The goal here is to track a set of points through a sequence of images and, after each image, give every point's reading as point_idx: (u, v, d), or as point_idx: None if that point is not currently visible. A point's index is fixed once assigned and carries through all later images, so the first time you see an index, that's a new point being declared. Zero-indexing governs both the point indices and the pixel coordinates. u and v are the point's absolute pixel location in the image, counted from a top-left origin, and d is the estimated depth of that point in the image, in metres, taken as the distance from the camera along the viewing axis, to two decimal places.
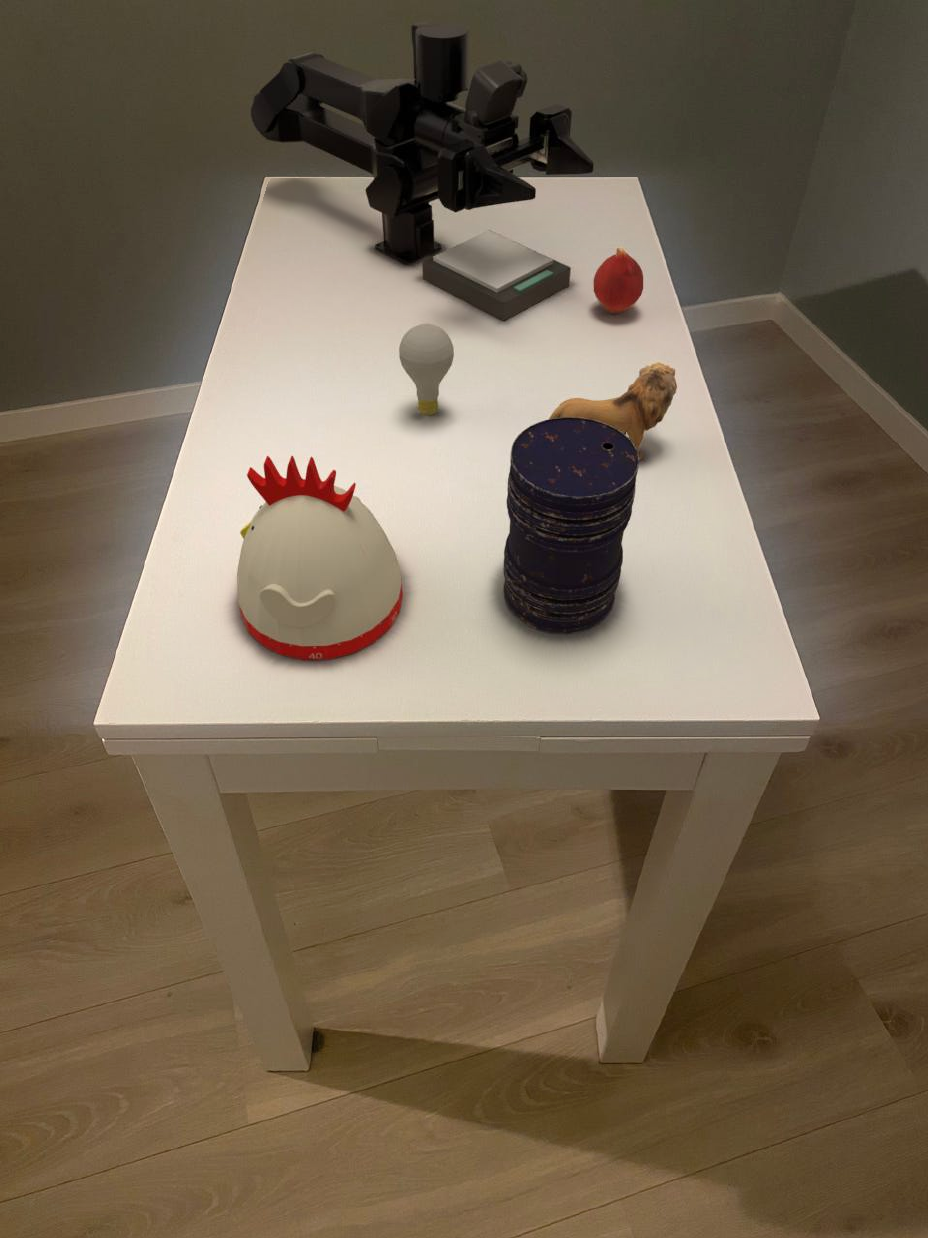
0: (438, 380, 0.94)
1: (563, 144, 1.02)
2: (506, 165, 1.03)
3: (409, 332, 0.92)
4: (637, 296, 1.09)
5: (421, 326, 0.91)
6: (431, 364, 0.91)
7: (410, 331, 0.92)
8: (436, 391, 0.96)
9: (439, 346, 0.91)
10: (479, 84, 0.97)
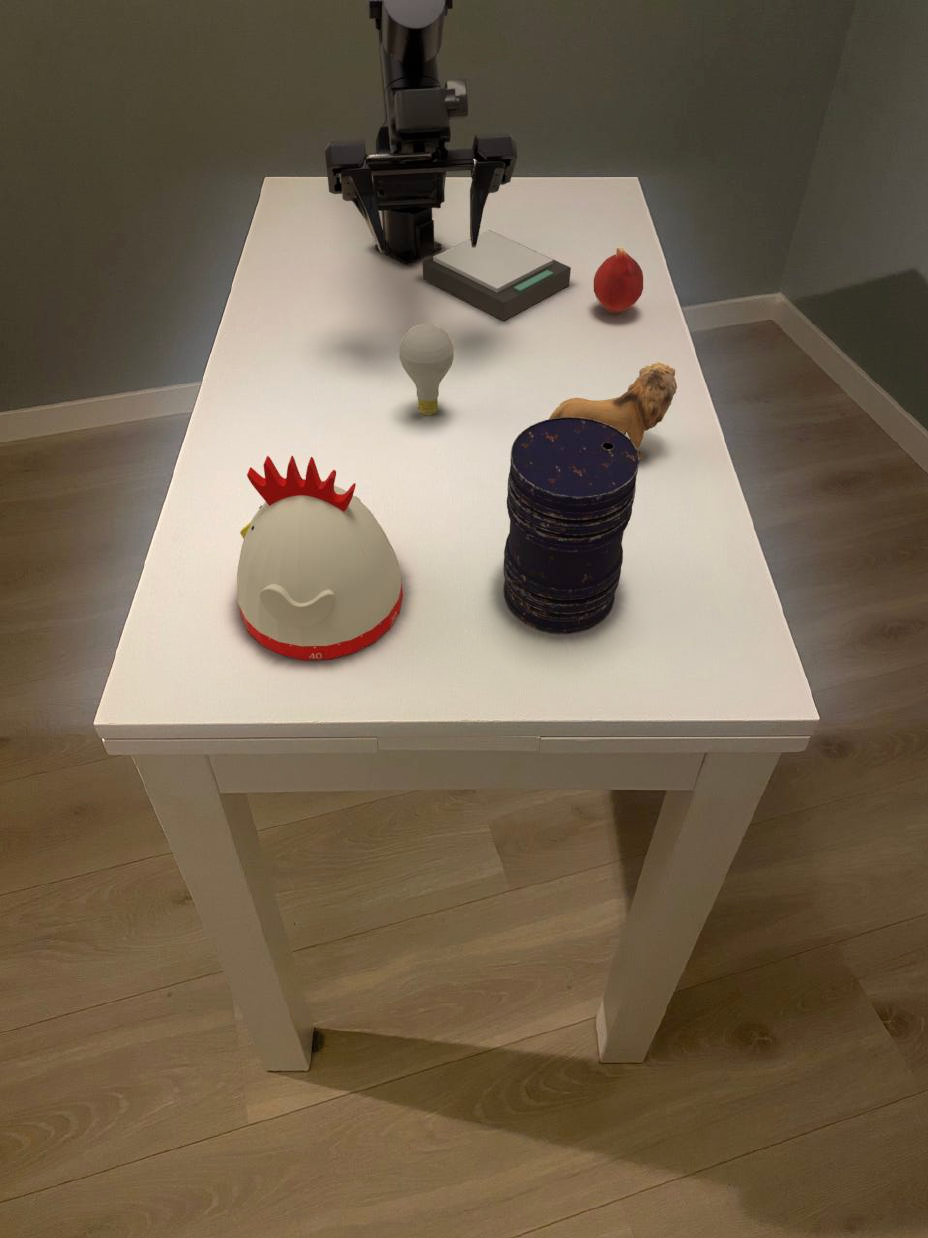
0: (438, 380, 0.94)
1: (473, 196, 0.93)
2: None
3: (409, 332, 0.92)
4: (637, 296, 1.09)
5: (421, 326, 0.91)
6: (431, 364, 0.91)
7: (410, 331, 0.92)
8: (436, 391, 0.96)
9: (439, 346, 0.91)
10: (396, 106, 0.86)
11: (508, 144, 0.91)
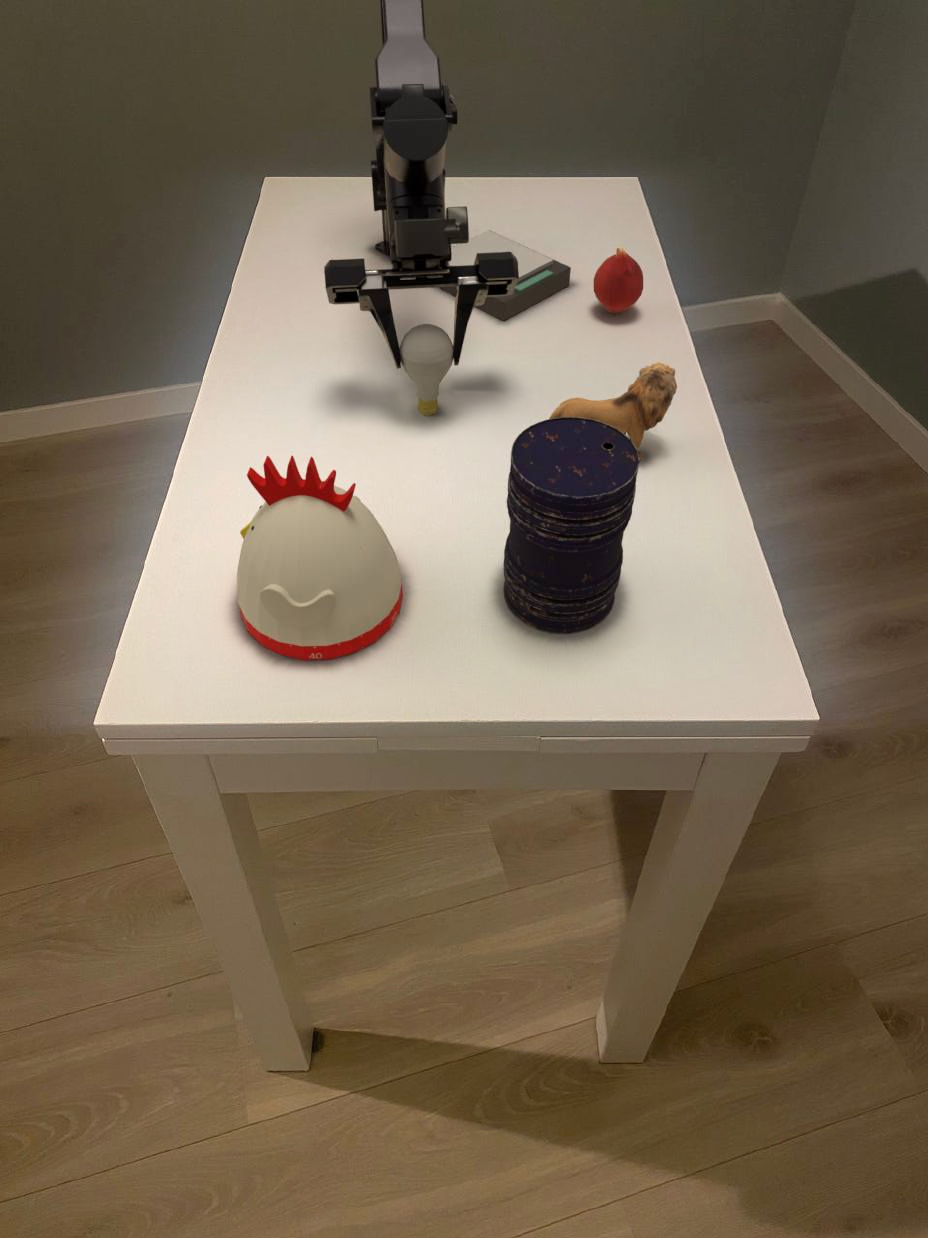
0: (438, 380, 0.94)
1: (456, 316, 0.92)
2: None
3: (409, 332, 0.92)
4: (637, 296, 1.09)
5: (421, 327, 0.91)
6: (431, 364, 0.91)
7: (410, 331, 0.92)
8: (436, 391, 0.96)
9: (439, 346, 0.91)
10: (395, 234, 0.85)
11: (510, 265, 0.90)
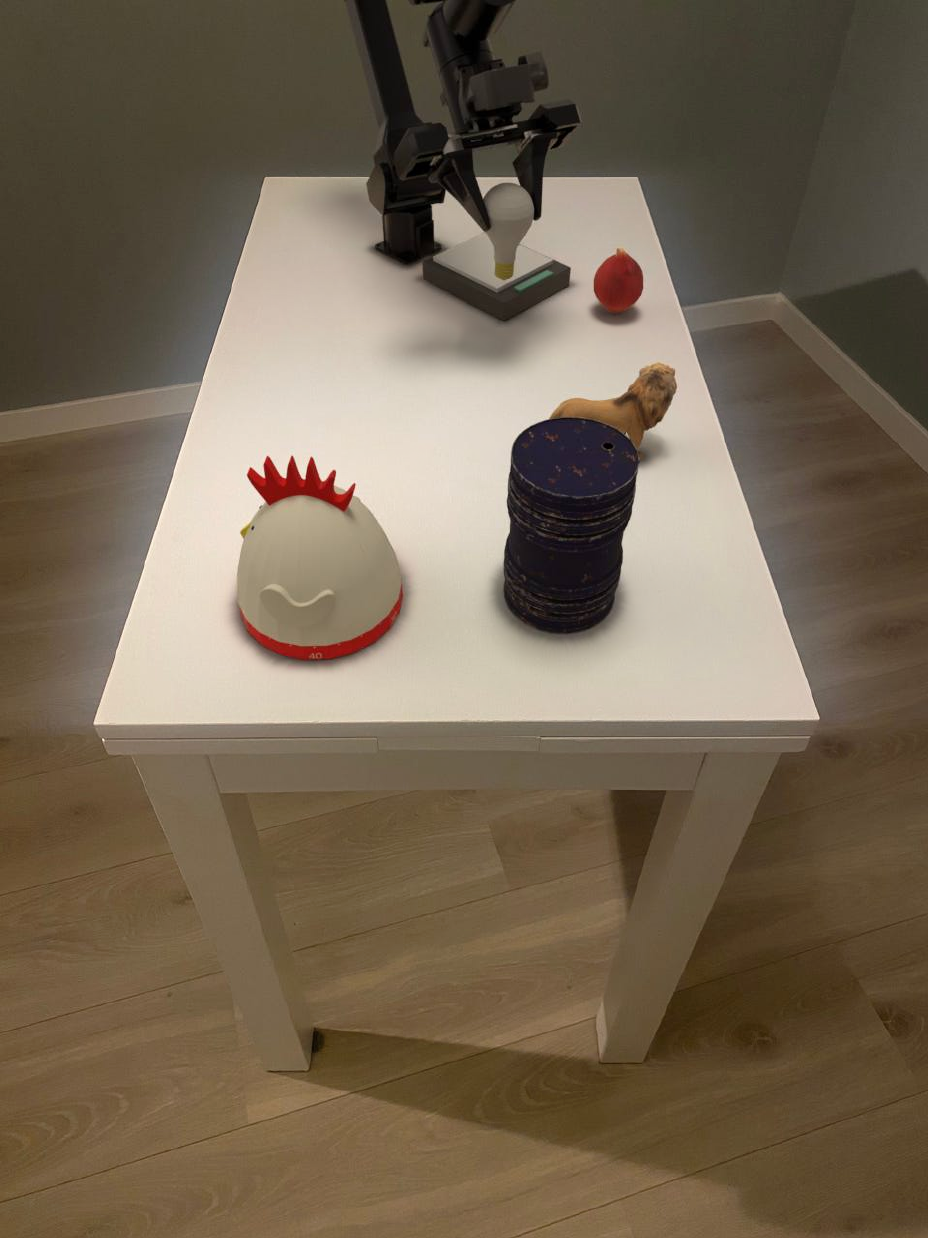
0: (522, 238, 0.96)
1: (531, 170, 0.94)
2: None
3: (492, 192, 0.93)
4: (637, 296, 1.09)
5: (503, 185, 0.93)
6: (522, 219, 0.93)
7: (493, 191, 0.93)
8: (515, 252, 0.98)
9: (526, 201, 0.93)
10: (485, 86, 0.86)
11: (574, 111, 0.93)
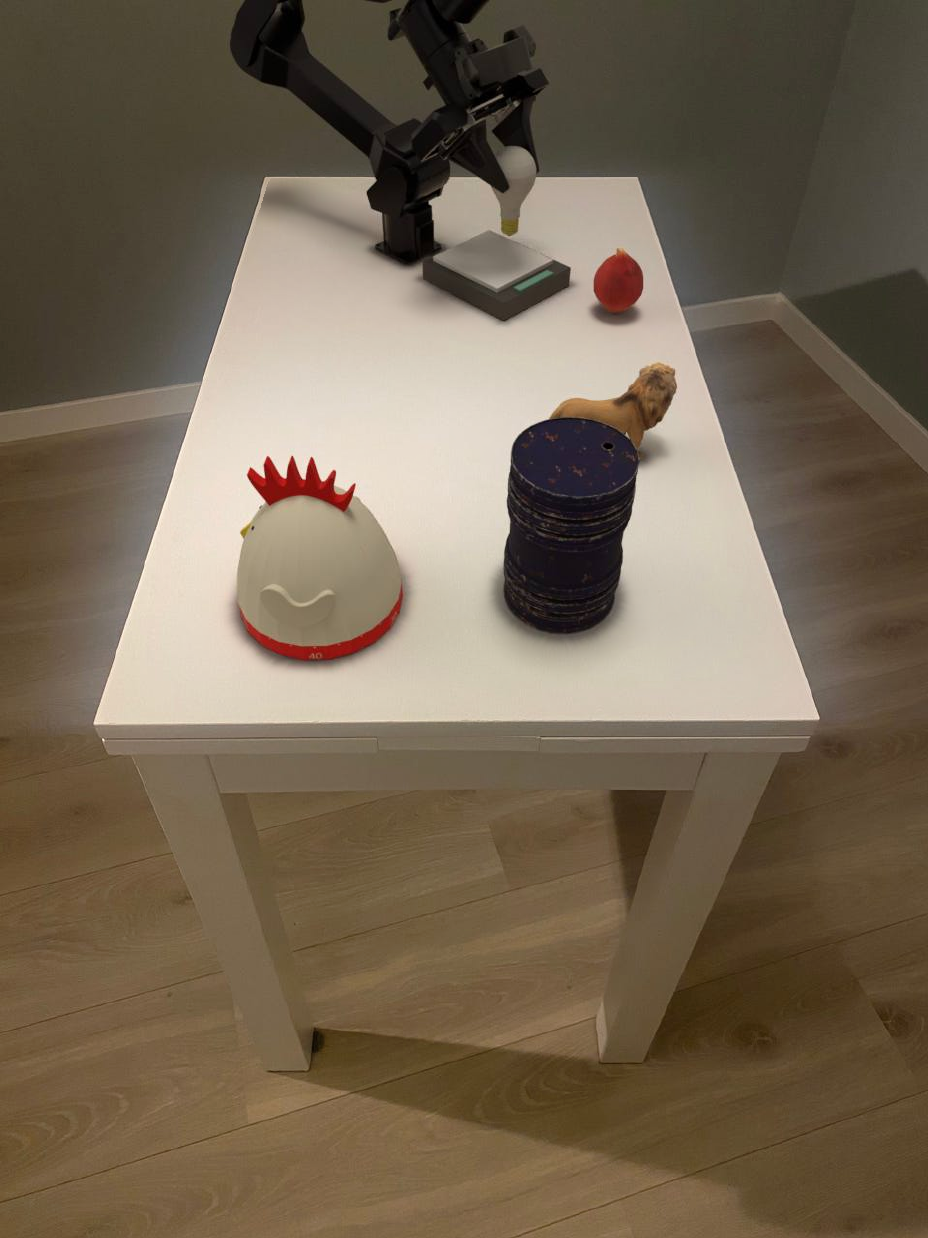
0: None
1: (522, 131, 1.05)
2: None
3: (503, 156, 1.03)
4: (637, 296, 1.09)
5: (509, 148, 1.04)
6: (533, 174, 1.04)
7: (503, 155, 1.03)
8: None
9: (532, 158, 1.04)
10: (497, 60, 0.96)
11: (542, 74, 1.06)
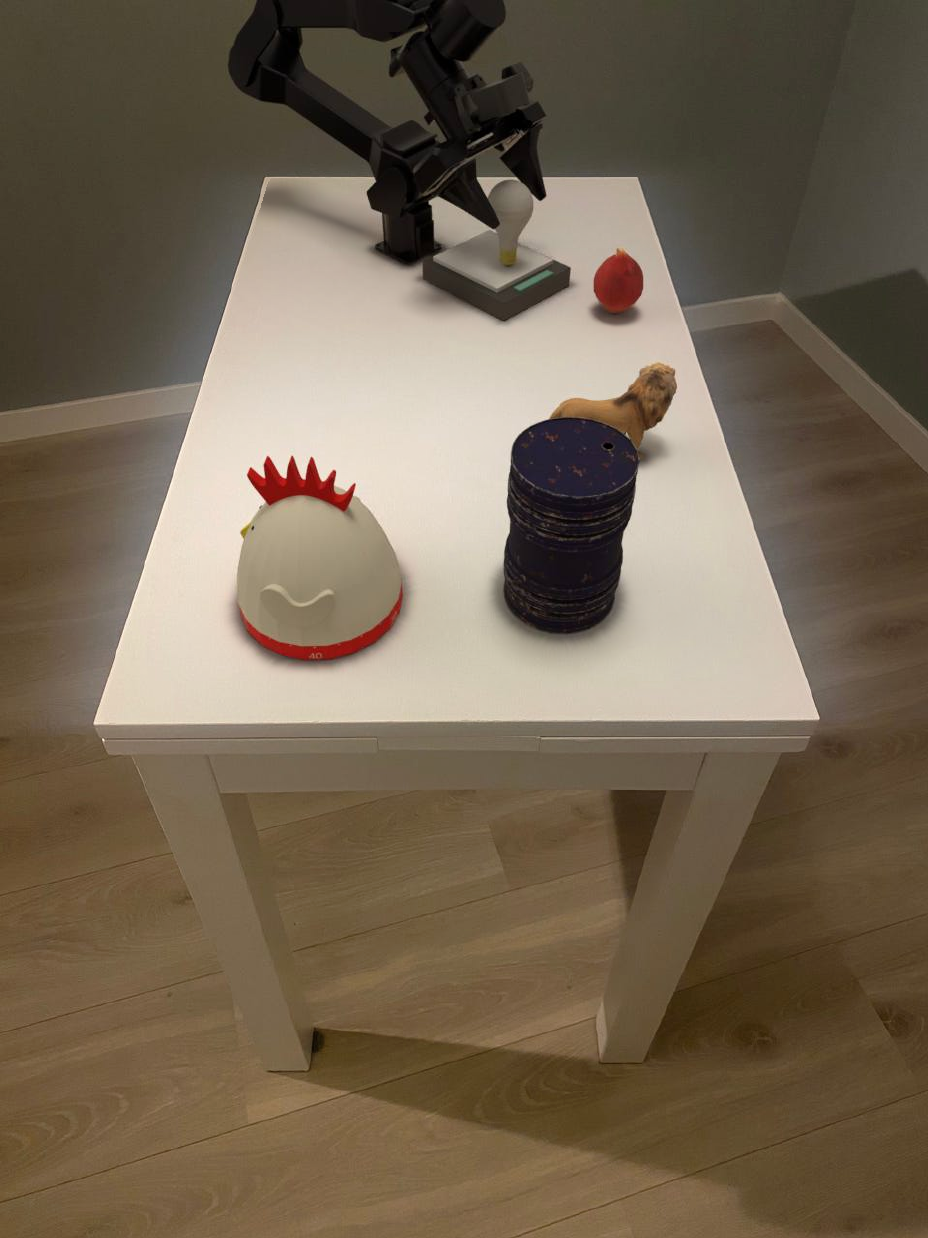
0: None
1: (529, 158, 1.09)
2: None
3: (501, 190, 1.06)
4: (637, 296, 1.09)
5: (506, 182, 1.06)
6: (530, 207, 1.07)
7: (501, 189, 1.06)
8: None
9: (529, 191, 1.07)
10: (496, 97, 0.99)
11: (540, 107, 1.08)
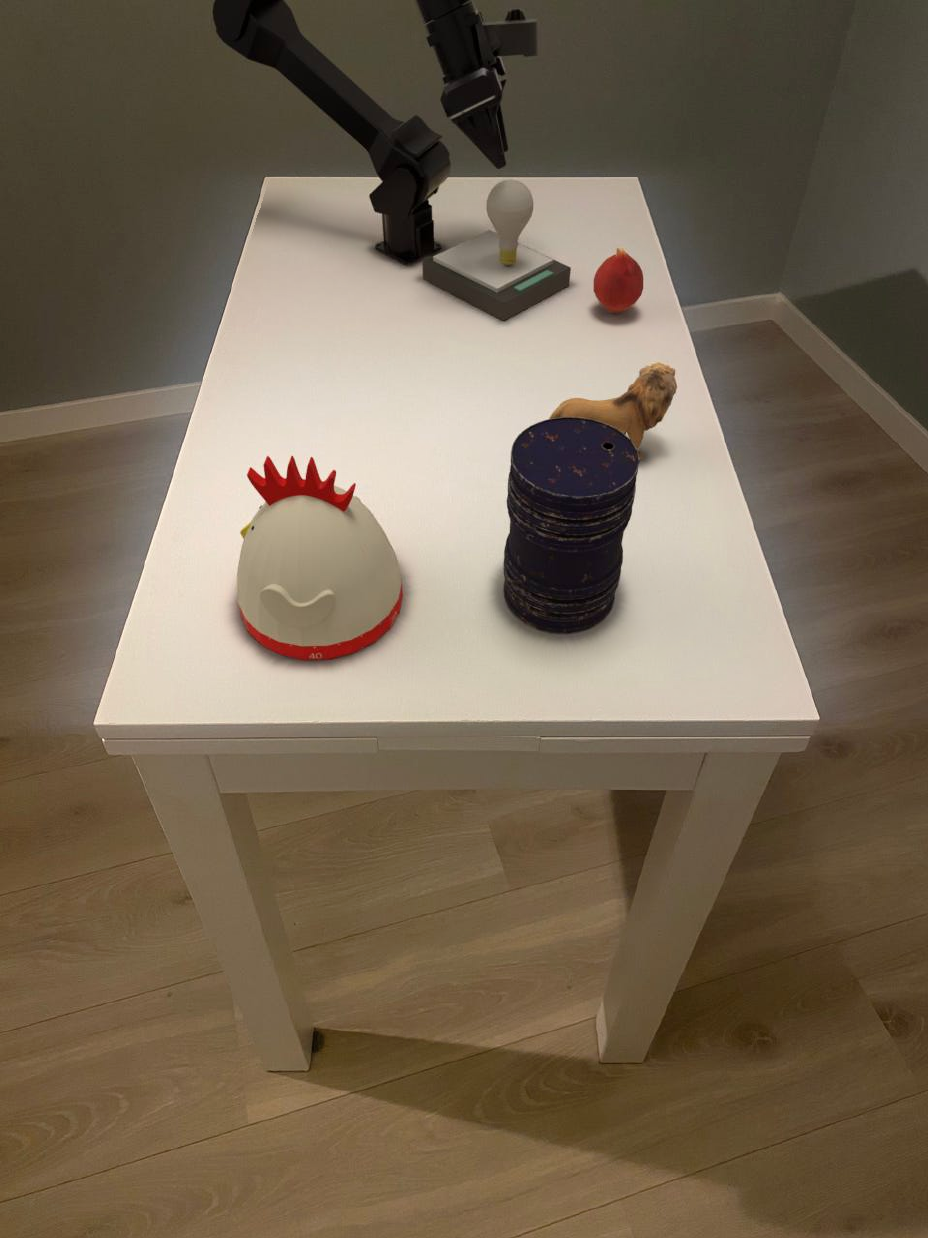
0: None
1: (498, 109, 1.10)
2: None
3: (501, 190, 1.06)
4: (637, 296, 1.09)
5: (506, 182, 1.06)
6: (530, 207, 1.07)
7: (501, 189, 1.06)
8: None
9: (529, 191, 1.07)
10: (528, 35, 0.99)
11: (502, 61, 1.10)
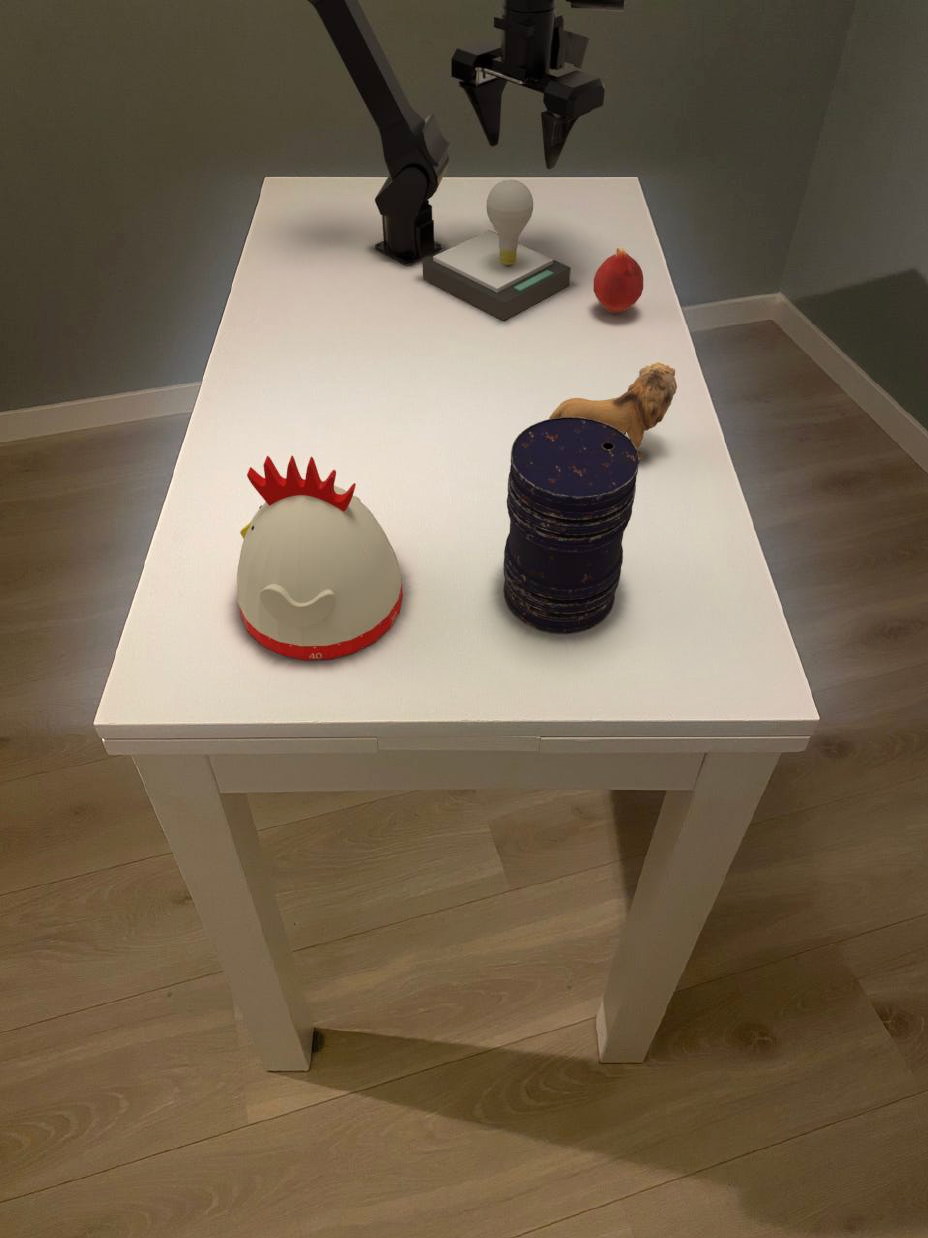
0: None
1: (499, 102, 1.11)
2: None
3: (500, 190, 1.06)
4: (637, 296, 1.09)
5: (506, 182, 1.06)
6: (530, 207, 1.07)
7: (501, 189, 1.06)
8: None
9: (529, 191, 1.07)
10: (585, 49, 1.06)
11: None
